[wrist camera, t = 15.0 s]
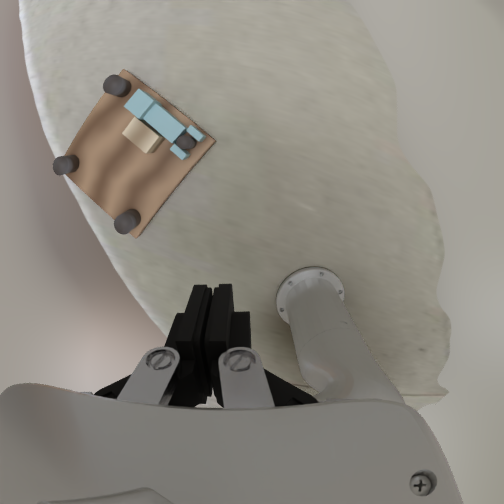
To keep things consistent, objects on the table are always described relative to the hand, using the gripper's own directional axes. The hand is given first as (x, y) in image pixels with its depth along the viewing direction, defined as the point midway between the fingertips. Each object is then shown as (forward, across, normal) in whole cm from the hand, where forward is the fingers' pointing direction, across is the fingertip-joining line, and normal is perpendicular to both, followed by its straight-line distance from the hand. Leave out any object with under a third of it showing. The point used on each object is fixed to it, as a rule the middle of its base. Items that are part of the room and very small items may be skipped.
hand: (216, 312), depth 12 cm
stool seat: (+32, +17, -8) cm, 37 cm away
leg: (+30, +10, -12) cm, 34 cm away
